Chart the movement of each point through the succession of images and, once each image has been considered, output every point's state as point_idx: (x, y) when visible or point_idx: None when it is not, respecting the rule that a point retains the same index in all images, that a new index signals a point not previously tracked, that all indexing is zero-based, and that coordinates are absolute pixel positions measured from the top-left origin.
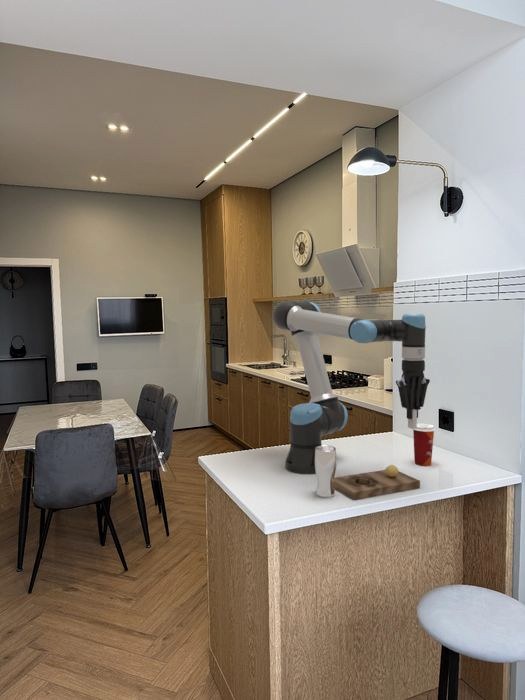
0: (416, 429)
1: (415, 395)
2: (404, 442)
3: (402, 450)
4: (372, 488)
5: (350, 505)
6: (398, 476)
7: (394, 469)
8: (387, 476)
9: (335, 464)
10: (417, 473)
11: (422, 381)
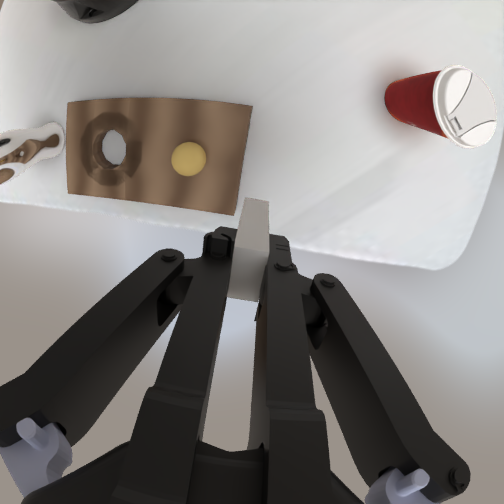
0: (437, 93)
1: (255, 377)
2: (482, 5)
3: (442, 17)
4: (105, 194)
5: (64, 203)
6: (210, 163)
7: (182, 174)
8: None
9: (16, 175)
10: (325, 135)
11: (373, 501)
